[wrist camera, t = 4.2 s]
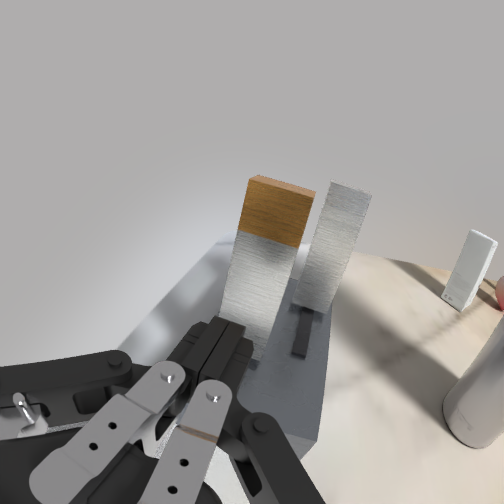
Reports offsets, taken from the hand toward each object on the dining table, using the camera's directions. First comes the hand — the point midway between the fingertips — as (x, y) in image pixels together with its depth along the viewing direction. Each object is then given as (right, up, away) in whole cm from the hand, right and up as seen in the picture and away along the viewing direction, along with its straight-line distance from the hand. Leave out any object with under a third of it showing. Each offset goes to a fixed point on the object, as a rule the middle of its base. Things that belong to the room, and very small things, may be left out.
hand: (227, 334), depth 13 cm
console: (+2, -6, +13) cm, 15 cm away
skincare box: (+42, -6, +35) cm, 56 cm away
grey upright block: (+7, -1, +15) cm, 17 cm away
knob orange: (0, -3, +8) cm, 8 cm away
